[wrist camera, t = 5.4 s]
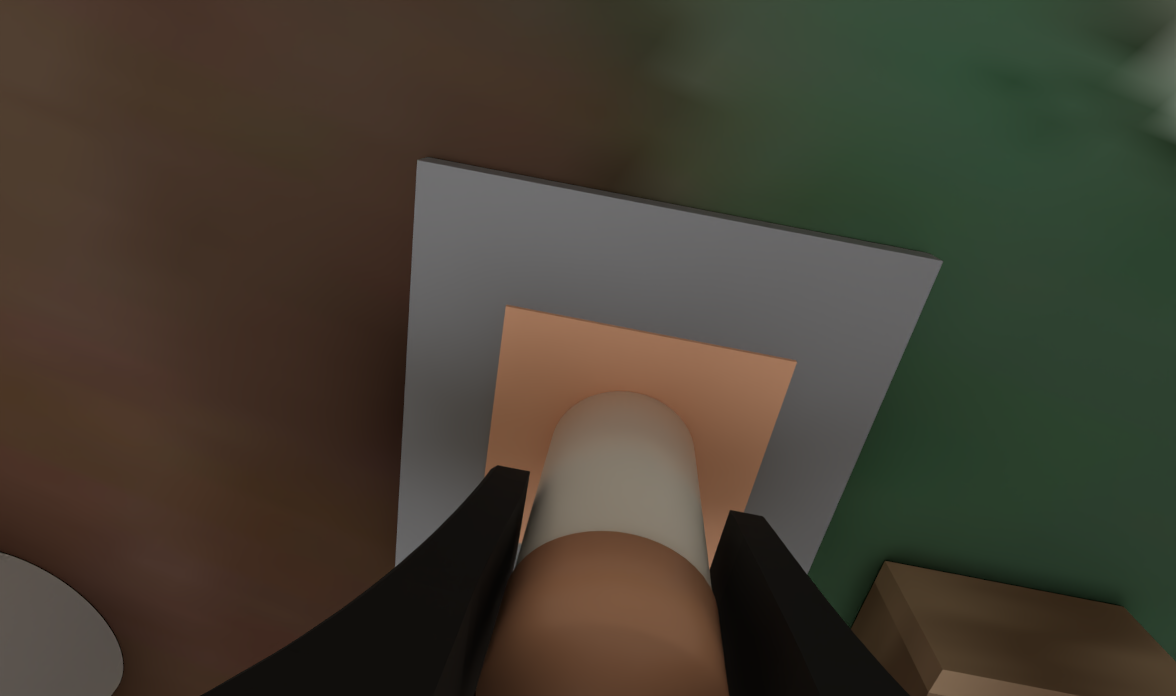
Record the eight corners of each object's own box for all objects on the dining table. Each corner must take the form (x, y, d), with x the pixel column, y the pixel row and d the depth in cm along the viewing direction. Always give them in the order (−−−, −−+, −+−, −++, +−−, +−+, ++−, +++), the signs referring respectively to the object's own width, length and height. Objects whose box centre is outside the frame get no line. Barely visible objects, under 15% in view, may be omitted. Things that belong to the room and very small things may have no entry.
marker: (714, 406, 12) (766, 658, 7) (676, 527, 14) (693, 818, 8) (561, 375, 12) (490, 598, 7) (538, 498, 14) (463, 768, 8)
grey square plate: (928, 253, 12) (946, 262, 11) (763, 643, 16) (769, 667, 15) (427, 156, 12) (415, 160, 11) (402, 574, 16) (392, 594, 15)
